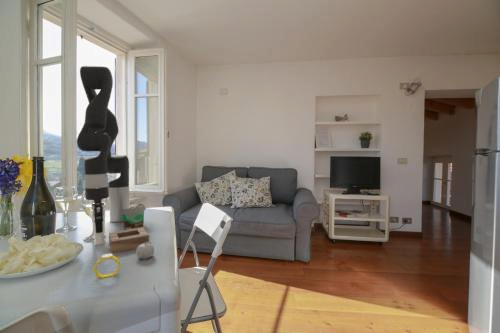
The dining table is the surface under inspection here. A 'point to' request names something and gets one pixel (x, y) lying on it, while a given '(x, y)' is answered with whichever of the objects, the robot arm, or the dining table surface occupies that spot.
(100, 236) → the white faceted vase
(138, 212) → the food container
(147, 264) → the dining table surface
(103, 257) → the watch
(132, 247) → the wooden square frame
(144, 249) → the garlic
